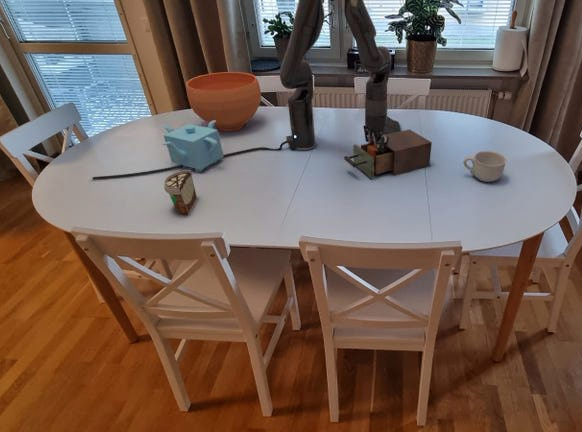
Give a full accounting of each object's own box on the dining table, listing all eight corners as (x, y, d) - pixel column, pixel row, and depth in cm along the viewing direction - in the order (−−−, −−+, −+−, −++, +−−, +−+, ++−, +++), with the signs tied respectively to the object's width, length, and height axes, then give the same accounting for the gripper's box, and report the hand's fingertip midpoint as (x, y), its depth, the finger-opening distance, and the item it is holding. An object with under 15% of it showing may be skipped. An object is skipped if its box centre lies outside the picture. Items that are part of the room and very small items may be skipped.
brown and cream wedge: (179, 197, 127) (170, 169, 122) (198, 196, 128) (190, 168, 122) (166, 218, 117) (156, 189, 112) (187, 217, 118) (178, 188, 112)
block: (383, 159, 141) (384, 148, 138) (373, 161, 139) (373, 150, 136) (377, 154, 144) (377, 143, 141) (367, 157, 142) (367, 145, 139)
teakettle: (226, 170, 143) (217, 132, 135) (170, 179, 137) (158, 140, 129) (222, 150, 158) (215, 114, 149) (172, 157, 152) (161, 120, 144)
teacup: (502, 173, 141) (507, 153, 136) (501, 187, 132) (505, 166, 128) (463, 167, 145) (466, 147, 140) (459, 181, 136) (462, 160, 132)
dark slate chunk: (367, 141, 164) (367, 131, 161) (366, 122, 182) (366, 113, 180) (403, 141, 164) (404, 130, 162) (398, 122, 183) (399, 112, 180)
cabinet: (393, 175, 140) (394, 151, 135) (373, 159, 150) (374, 137, 145) (429, 165, 146) (431, 142, 141) (408, 151, 156) (409, 129, 151)
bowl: (270, 114, 191) (264, 71, 180) (257, 139, 167) (249, 90, 155) (208, 115, 191) (198, 71, 179) (186, 139, 166) (173, 91, 155)
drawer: (357, 181, 134) (356, 162, 130) (340, 166, 143) (339, 147, 139) (405, 168, 142) (406, 149, 138) (387, 155, 151) (387, 137, 147)
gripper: (356, 106, 135) (357, 152, 145) (377, 120, 125) (376, 168, 134) (375, 103, 138) (374, 148, 148) (397, 116, 128) (394, 163, 137)
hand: (375, 157), depth 141 cm, fingers closed on block, 4 cm apart
